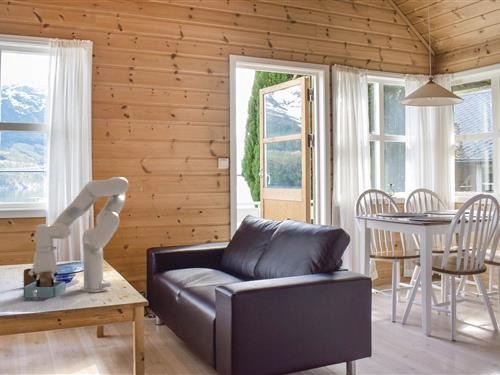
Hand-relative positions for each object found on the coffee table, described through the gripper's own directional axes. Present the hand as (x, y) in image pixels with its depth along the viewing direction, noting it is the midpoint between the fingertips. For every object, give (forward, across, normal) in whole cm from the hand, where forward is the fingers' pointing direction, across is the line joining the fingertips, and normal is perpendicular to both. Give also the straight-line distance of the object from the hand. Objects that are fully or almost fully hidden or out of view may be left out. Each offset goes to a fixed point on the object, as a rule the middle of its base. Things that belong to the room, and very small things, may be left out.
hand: (45, 286), depth 245 cm
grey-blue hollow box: (+4, +6, +10) cm, 12 cm away
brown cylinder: (+1, 0, 0) cm, 1 cm away
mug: (+5, +2, -22) cm, 23 cm away
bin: (+4, 0, 0) cm, 4 cm away
